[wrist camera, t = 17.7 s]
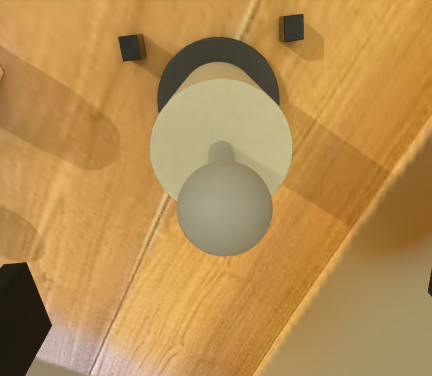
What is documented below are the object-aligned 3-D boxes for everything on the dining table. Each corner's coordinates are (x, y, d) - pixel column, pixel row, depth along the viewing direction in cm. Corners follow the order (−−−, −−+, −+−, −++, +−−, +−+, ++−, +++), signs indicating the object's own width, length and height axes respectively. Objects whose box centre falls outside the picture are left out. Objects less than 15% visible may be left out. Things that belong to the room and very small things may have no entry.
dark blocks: (124, 36, 39) (118, 36, 37) (297, 15, 38) (303, 13, 36) (129, 59, 40) (123, 61, 37) (297, 38, 39) (303, 39, 37)
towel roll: (149, 45, 40) (-28, 52, 11) (274, 29, 39) (443, -6, 10) (169, 163, 45) (87, 382, 16) (280, 151, 44) (402, 355, 15)
